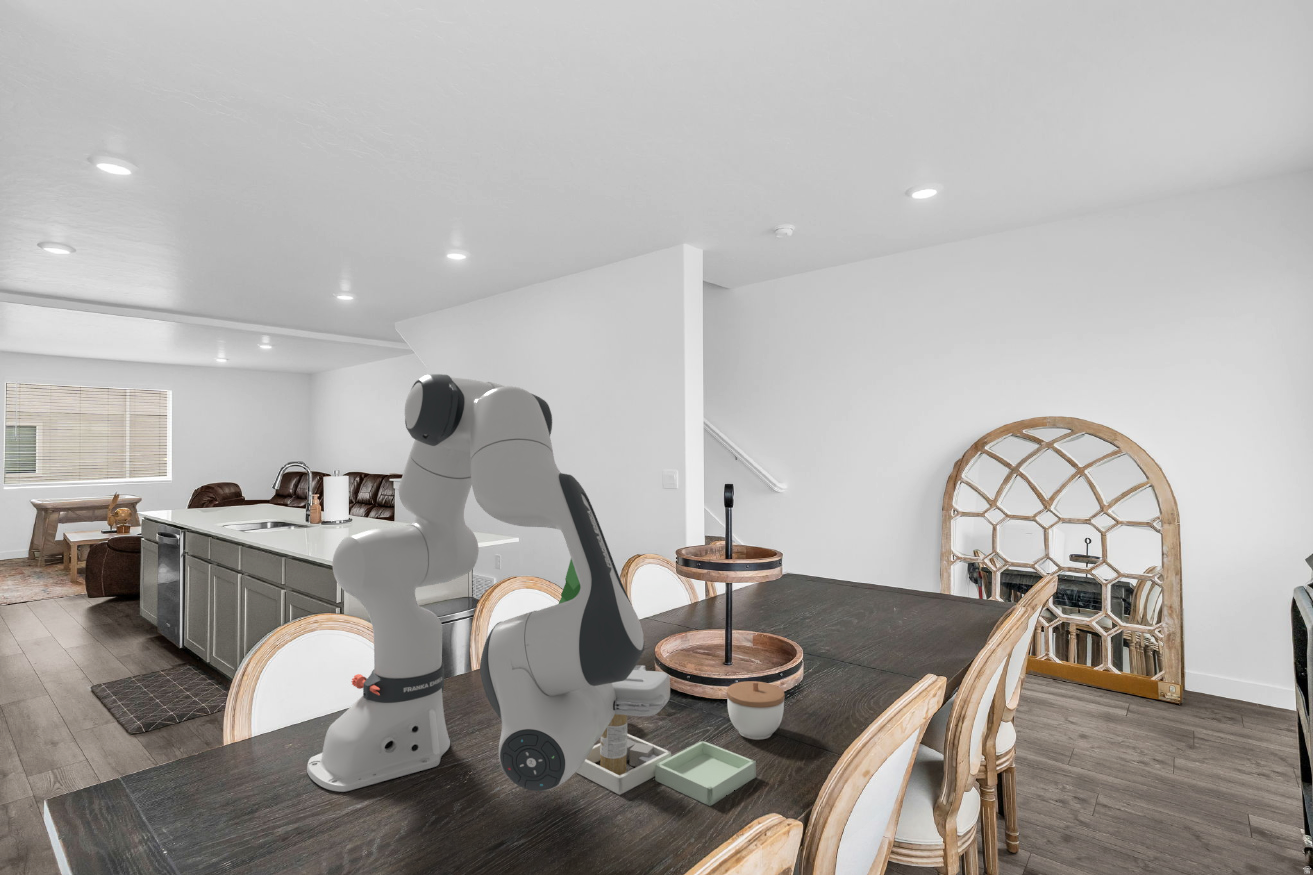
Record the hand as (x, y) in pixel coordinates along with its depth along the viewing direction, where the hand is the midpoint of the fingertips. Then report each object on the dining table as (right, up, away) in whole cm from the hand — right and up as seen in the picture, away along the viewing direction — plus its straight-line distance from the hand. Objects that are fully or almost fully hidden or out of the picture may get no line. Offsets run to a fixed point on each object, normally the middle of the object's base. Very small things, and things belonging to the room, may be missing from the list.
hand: (609, 668), depth 96 cm
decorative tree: (-13, -22, +63) cm, 68 cm away
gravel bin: (+1, -21, +12) cm, 24 cm away
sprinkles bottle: (0, -21, +11) cm, 24 cm away
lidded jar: (+25, -22, +27) cm, 43 cm away
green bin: (+15, -21, +10) cm, 27 cm away
